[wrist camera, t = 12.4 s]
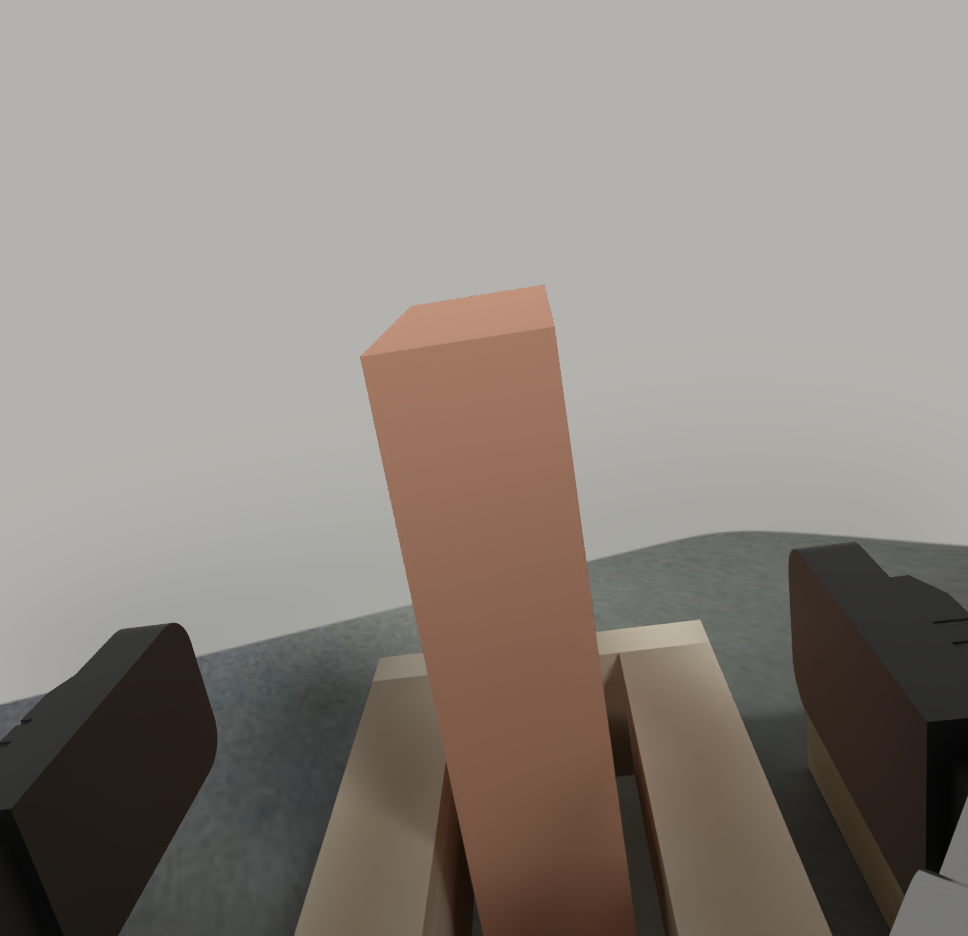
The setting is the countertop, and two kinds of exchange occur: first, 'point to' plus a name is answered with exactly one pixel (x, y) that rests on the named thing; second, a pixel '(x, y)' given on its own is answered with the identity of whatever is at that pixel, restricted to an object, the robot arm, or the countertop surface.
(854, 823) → the wooden square slab
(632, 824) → the mat
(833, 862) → the countertop surface
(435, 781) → the beige open box
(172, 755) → the robot arm
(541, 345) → the tall salmon pillar
